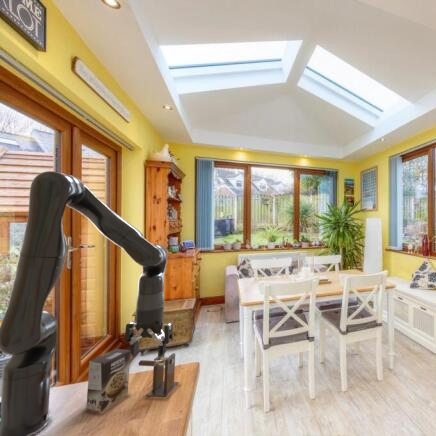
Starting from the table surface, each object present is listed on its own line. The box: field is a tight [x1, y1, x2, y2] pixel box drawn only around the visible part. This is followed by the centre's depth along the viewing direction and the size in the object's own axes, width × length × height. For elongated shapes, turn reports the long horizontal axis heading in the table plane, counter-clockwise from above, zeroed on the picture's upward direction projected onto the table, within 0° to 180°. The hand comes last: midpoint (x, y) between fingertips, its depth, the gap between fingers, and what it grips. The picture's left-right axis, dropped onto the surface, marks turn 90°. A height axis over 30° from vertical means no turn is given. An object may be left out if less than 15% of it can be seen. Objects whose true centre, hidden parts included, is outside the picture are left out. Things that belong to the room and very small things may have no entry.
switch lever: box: [138, 356, 169, 367], centre depth 89 cm, size 12×5×2 cm, turn 1°
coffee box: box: [86, 348, 131, 413], centre depth 87 cm, size 9×6×16 cm
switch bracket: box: [145, 352, 180, 398], centre depth 94 cm, size 8×7×13 cm
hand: (148, 355), depth 85 cm, fingers open, 8 cm apart
